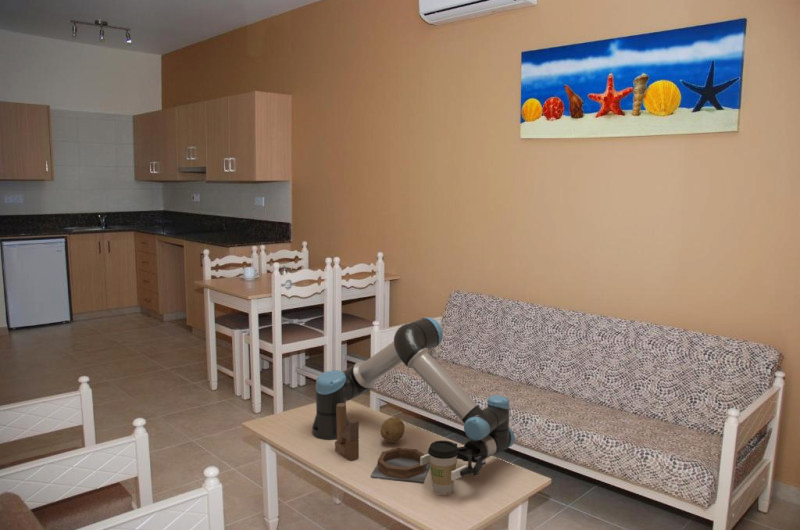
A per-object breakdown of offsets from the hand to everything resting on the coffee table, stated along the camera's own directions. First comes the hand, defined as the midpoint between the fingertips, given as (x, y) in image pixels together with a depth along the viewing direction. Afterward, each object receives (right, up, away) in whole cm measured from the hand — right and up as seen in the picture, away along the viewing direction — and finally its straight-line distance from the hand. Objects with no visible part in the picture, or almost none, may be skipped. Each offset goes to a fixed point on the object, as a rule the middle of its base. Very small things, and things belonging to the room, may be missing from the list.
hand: (436, 468), depth 192 cm
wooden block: (-31, -5, +29) cm, 42 cm away
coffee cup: (+2, -8, +3) cm, 9 cm away
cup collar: (-11, -6, +18) cm, 22 cm away
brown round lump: (-14, -3, +39) cm, 41 cm away
